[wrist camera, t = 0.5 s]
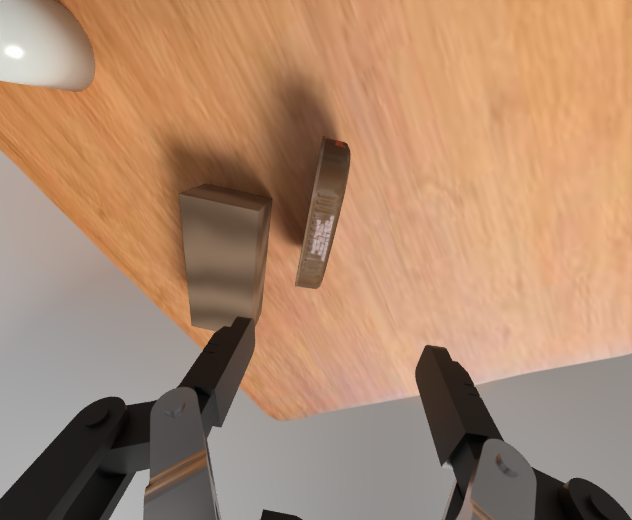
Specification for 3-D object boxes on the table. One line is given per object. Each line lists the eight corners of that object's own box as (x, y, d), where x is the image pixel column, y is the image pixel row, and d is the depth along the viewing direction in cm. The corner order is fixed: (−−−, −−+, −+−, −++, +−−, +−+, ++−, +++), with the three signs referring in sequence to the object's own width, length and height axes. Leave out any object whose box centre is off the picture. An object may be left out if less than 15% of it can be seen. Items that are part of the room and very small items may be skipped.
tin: (323, 134, 24) (313, 136, 16) (353, 141, 24) (358, 146, 16) (299, 261, 31) (285, 301, 24) (322, 266, 31) (316, 308, 24)
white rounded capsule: (6, -13, 21) (-133, -72, 15) (83, 4, 21) (-24, -48, 15) (37, 83, 24) (-66, 67, 18) (103, 98, 24) (22, 87, 18)
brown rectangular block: (205, 183, 27) (178, 193, 23) (272, 198, 27) (258, 211, 23) (210, 302, 36) (191, 325, 32) (261, 313, 36) (249, 338, 32)
